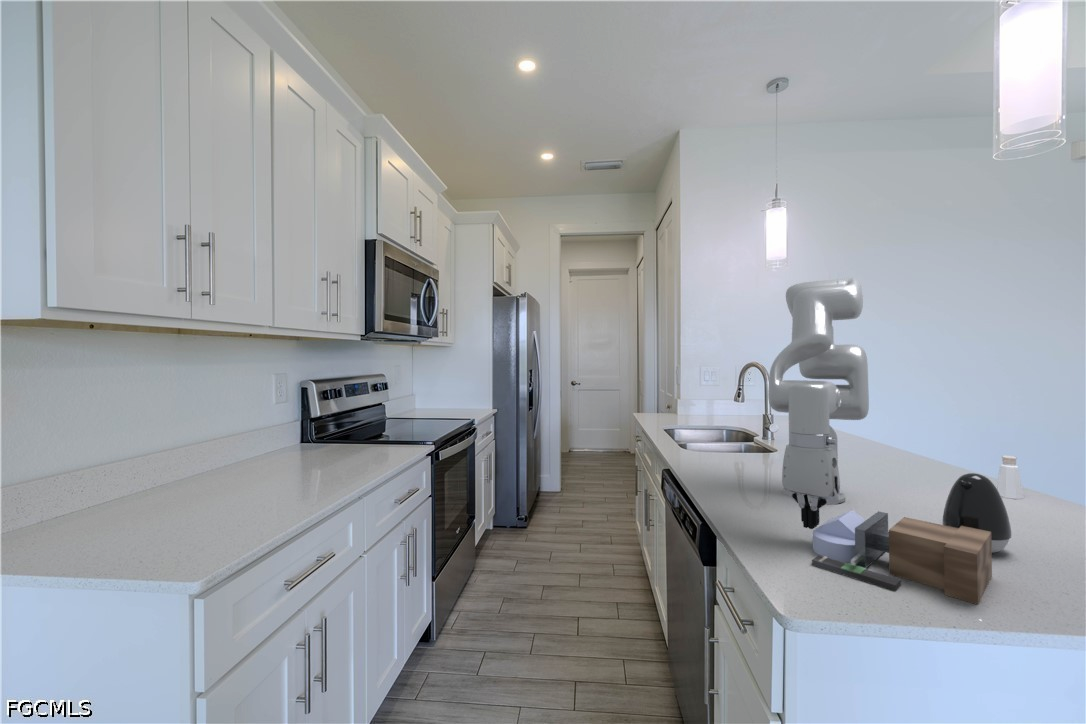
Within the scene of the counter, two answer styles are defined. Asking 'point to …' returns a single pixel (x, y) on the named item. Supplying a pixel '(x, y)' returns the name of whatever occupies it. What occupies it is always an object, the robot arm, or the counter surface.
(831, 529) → the wedge on round base
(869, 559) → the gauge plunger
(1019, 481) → the salt shaker
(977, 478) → the black egg-shaped piece
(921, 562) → the frame
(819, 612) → the counter surface
